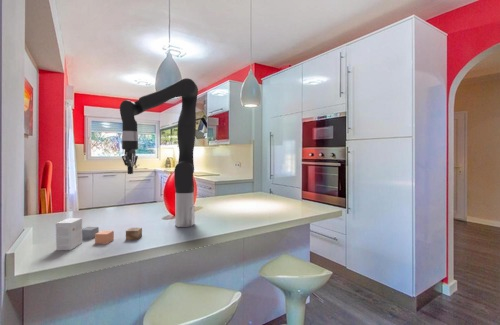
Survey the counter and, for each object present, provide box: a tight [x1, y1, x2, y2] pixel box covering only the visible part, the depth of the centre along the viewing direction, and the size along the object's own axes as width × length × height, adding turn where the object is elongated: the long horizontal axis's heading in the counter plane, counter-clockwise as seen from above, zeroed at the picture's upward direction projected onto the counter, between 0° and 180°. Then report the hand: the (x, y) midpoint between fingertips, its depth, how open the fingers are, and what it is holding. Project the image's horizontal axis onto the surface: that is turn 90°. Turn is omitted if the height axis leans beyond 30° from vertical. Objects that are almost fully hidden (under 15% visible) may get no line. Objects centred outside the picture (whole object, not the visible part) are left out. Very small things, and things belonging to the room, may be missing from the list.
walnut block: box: [125, 227, 143, 241], centre depth 114 cm, size 5×5×4 cm
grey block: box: [82, 226, 100, 240], centre depth 115 cm, size 5×5×4 cm
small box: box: [55, 217, 83, 251], centre depth 103 cm, size 8×6×10 cm
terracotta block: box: [94, 230, 115, 245], centre depth 109 cm, size 5×5×4 cm
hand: (130, 173), depth 135 cm, fingers closed
